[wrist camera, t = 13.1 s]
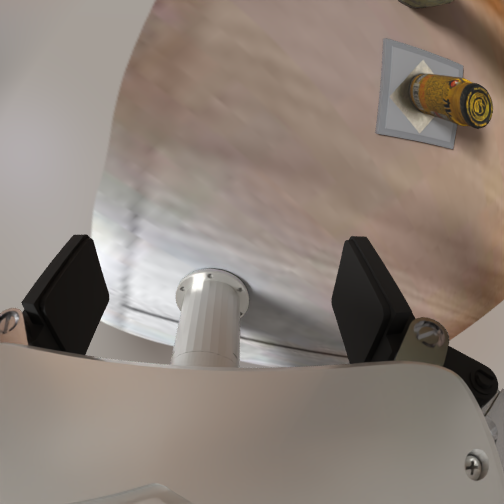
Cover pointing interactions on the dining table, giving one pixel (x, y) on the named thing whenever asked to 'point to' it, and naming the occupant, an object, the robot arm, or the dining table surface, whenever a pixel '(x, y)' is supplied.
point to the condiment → (442, 99)
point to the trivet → (393, 74)
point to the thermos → (424, 3)
